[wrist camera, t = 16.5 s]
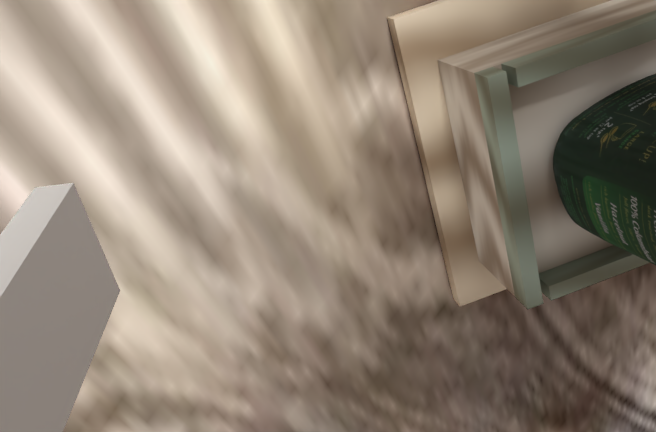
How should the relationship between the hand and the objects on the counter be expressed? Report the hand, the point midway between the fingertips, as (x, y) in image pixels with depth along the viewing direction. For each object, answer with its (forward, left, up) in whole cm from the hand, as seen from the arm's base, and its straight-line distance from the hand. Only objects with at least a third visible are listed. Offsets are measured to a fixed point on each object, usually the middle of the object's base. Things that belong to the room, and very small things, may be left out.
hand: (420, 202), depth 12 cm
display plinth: (+10, +17, -25) cm, 32 cm away
